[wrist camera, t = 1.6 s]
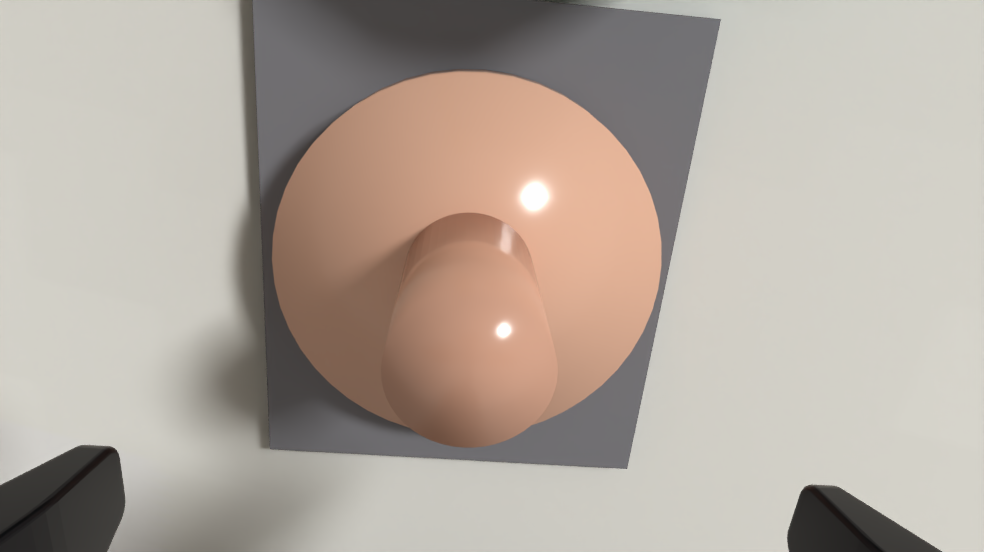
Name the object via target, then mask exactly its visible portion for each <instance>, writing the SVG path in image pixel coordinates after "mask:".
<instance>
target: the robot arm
mask: <svg viewBox="0 0 984 552" xmlns="http://www.w3.org/2000/svg"><path fill="white" fill-rule="evenodd" d="M124 508H125V492H124V485H123V478H122V471H121V464H120V457H119V454H118V452H117V450H116V449H115V448H113V447H111V446H95V445H81V446H78V447H75V448H73V449H71V450H69V451H67V452H65V453H63V454H61V455H59V456H57V457H55V458H53V459H51V460H49V461H47V462H45V463H43V464H41V465H40V466H38V467H36V468H34V469H32V470H30V471H28V472H26V473H24V474H22V475H20V476H18V477H16V478H14V479H12V480H10V481H8V482H6V483H4V484H2V485H0V552H107V551H108V549H109V546H110V544H111V542H112V540H113V537H114V535H115V533H116V530H117V528H118V526H119V524H120V521H121V519H122V516H123V513H124ZM787 542H788V549H789V552H942V551H940V550H939V549H937V548H935V547H934V546H932V545H931V544H929V543H927V542H926V541H924V540H923V539H921V538H919V537H918V536H916V535H915V534H913V533H911V532H910V531H908V530H907V529H905V528H903V527H902V526H900V525H899V524H897V523H895V522H894V521H892V520H891V519H889V518H887V517H886V516H884V515H883V514H881V513H880V512H878V511H876V510H875V509H873V508H872V507H870V506H868V505H867V504H865V503H864V502H862V501H860V500H859V499H857V498H856V497H854V496H852V495H851V494H849V493H848V492H846V491H844V490H843V489H841V488H839V487H836V486H829V485H808V486H806V487H804V489H803V490H802V491H801V494H800V496H799V499H798V502H797V505H796V508H795V511H794V514H793V517H792V520H791V523H790V526H789V530H788V536H787Z"/></svg>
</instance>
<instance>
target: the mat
mask: <svg viewBox="0 0 984 552" xmlns="http://www.w3.org/2000/svg"><path fill="white" fill-rule="evenodd" d="M252 1H253V27H254V52H255V78H256V104H257V129H258V155H259V180H260V206H261V232H262V257H263V283H264V308H265V334H266V360H267V385H268V411H269V436H270V449H278V450H296V451H315V452H333V453H351V454H369V455H387V456H405V457H423V458H441V459H459V460H477V461H495V462H513V463H531V464H549V465H567V466H585V467H603V468H621V469H627V466H628V462H629V457H630V452H631V447H632V442H633V438H634V433H635V428H636V423H637V418H638V414H639V409H640V404H641V399H642V394H643V390H644V385H645V380H646V375H647V370H648V366H649V361H650V356H651V351H652V347H653V342H654V337H655V332H656V327H657V323H658V318H659V313H660V308H661V303H662V299H663V294H664V289H665V284H666V279H667V275H668V270H669V265H670V260H671V255H672V251H673V246H674V241H675V236H676V232H677V227H678V222H679V217H680V212H681V208H682V203H683V198H684V193H685V188H686V184H687V179H688V174H689V169H690V164H691V160H692V155H693V150H694V145H695V140H696V136H697V131H698V126H699V121H700V117H701V112H702V107H703V102H704V97H705V93H706V88H707V83H708V78H709V73H710V69H711V64H712V59H713V54H714V49H715V45H716V40H717V35H718V30H719V25H720V21H721V19H712V18H702V17H692V16H683V15H673V14H663V13H653V12H643V11H634V10H624V9H614V8H604V7H595V6H585V5H575V4H565V3H555V2H546V1H536V0H252ZM452 69H486V70H492V71H498V72H504V73H510V74H514V75H517V76H520V77H524V78H527V79H530V80H533V81H537V82H539V83H541V84H543V85H545V86H547V87H550V88H552V89H554V90H556V91H558V92H560V93H562V94H563V95H565V96H566V97H568V98H570V99H571V100H573V101H574V102H576V103H577V104H579V105H580V106H582V107H583V108H584V109H585V110H587V111H588V112H589V113H590V114H591V115H592V116H593V117H595V118H596V119H597V120H598V121H599V122H600V123H601V124H603V125H604V126H605V127H606V128H607V129H608V130H609V131H610V132H611V133H612V134H613V135H614V136H615V138H616V139H617V140H618V141H619V142H620V143H621V145H622V146H623V147H624V148H625V149H626V150H627V152H628V153H629V155H630V156H631V158H632V160H633V161H634V163H635V164H636V166H637V167H638V169H639V170H640V172H641V174H642V176H643V178H644V181H645V183H646V185H647V187H648V189H649V191H650V194H651V197H652V200H653V203H654V207H655V210H656V213H657V217H658V222H659V229H660V236H661V272H660V280H659V287H658V291H657V295H656V299H655V302H654V306H653V310H652V312H651V315H650V317H649V319H648V322H647V324H646V326H645V329H644V331H643V333H642V335H641V336H640V338H639V340H638V341H637V343H636V345H635V347H634V348H633V350H632V352H631V353H630V354H629V355H628V357H627V358H626V359H625V361H624V362H623V363H622V364H621V366H620V367H619V368H618V370H617V371H616V372H615V373H614V374H613V375H612V376H611V377H610V378H609V379H608V380H607V381H606V382H605V383H604V384H603V385H602V386H600V387H599V388H598V389H597V390H595V391H594V392H593V393H592V394H590V395H589V396H588V397H586V398H585V399H584V400H582V401H581V402H579V403H577V404H576V405H574V406H573V407H571V408H569V409H568V410H566V411H564V412H562V413H560V414H558V415H556V416H554V417H552V418H549V419H547V420H545V421H543V422H540V423H537V424H534V425H531V426H530V427H528V428H527V429H526V430H525V431H523V432H521V433H520V434H518V435H517V436H515V437H513V438H510V439H508V440H506V441H503V442H500V443H497V444H494V445H489V446H484V447H475V448H462V447H453V446H448V445H444V444H440V443H437V442H434V441H431V440H429V439H427V438H425V437H423V436H421V435H419V434H418V433H416V432H415V431H413V430H412V429H411V428H409V427H406V426H403V425H400V424H397V423H394V422H391V421H388V420H386V419H384V418H382V417H380V416H378V415H376V414H374V413H372V412H370V411H368V410H366V409H364V408H363V407H361V406H360V405H358V404H356V403H355V402H353V401H352V400H350V399H348V398H347V397H346V396H345V395H343V394H342V393H341V392H340V391H338V390H337V389H336V388H335V387H334V386H332V385H331V384H330V383H329V382H328V381H327V380H326V379H325V378H324V377H323V376H322V375H321V374H320V373H319V372H318V371H317V370H316V369H315V368H314V366H313V365H312V364H311V362H310V361H309V360H308V358H307V357H306V356H305V354H304V353H303V352H302V350H301V349H300V347H299V345H298V344H297V342H296V340H295V338H294V337H293V335H292V333H291V331H290V330H289V327H288V325H287V322H286V320H285V317H284V315H283V312H282V310H281V307H280V304H279V300H278V296H277V292H276V288H275V284H274V274H273V265H272V247H273V233H274V227H275V222H276V217H277V211H278V208H279V205H280V203H281V200H282V197H283V194H284V191H285V188H286V186H287V184H288V182H289V180H290V178H291V176H292V174H293V172H294V170H295V168H296V166H297V165H298V163H299V162H300V160H301V159H302V158H303V156H304V155H305V153H306V152H307V151H308V149H309V148H310V146H311V145H312V144H313V143H314V141H315V140H316V139H317V138H318V137H319V136H320V135H321V134H322V133H323V132H324V131H325V130H326V129H327V128H328V127H329V126H330V125H331V124H332V123H333V122H334V121H335V120H336V119H337V118H339V117H340V116H341V115H342V114H344V113H345V112H346V111H347V110H349V109H350V108H351V107H352V106H354V105H355V104H356V103H358V102H359V101H360V100H362V99H364V98H366V97H367V96H369V95H371V94H373V93H374V92H376V91H378V90H379V89H381V88H383V87H386V86H388V85H391V84H393V83H396V82H398V81H401V80H403V79H406V78H409V77H413V76H417V75H421V74H425V73H429V72H434V71H443V70H452Z"/></svg>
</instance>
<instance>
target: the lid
mask: <svg viewBox="0 0 984 552" xmlns="http://www.w3.org/2000/svg"><path fill="white" fill-rule="evenodd" d="M272 265H273V274H274V284H275V288H276V292H277V296H278V300H279V304H280V307H281V310H282V312H283V315H284V317H285V320H286V322H287V325H288V327H289V330H290V331H291V333H292V335H293V337H294V338H295V340H296V342H297V344H298V345H299V347H300V349H301V350H302V352H303V353H304V354H305V356H306V357H307V358H308V360H309V361H310V362H311V364H312V365H313V366H314V368H315V369H316V370H317V371H318V372H319V373H320V374H321V375H322V376H323V377H324V378H325V379H326V380H327V381H328V382H329V383H330V384H331V385H332V386H334V387H335V388H336V389H337V390H338V391H340V392H341V393H342V394H343V395H345V396H346V397H347V398H348V399H350V400H352V401H353V402H355V403H356V404H358V405H360V406H361V407H363V408H364V409H366V410H368V411H370V412H372V413H374V414H376V415H378V416H380V417H382V418H384V419H386V420H388V421H391V422H394V423H397V424H400V425H403V426H406V427H409V428H411V429H412V430H413V431H415V432H416V433H418V434H419V435H421V436H423V437H425V438H427V439H429V440H431V441H434V442H437V443H440V444H444V445H448V446H453V447H462V448H475V447H484V446H489V445H494V444H497V443H500V442H503V441H506V440H508V439H510V438H513V437H515V436H517V435H518V434H520V433H521V432H523V431H525V430H526V429H527V428H528V427H530V426H531V425H534V424H537V423H540V422H543V421H545V420H547V419H549V418H552V417H554V416H556V415H558V414H560V413H562V412H564V411H566V410H568V409H569V408H571V407H573V406H574V405H576V404H577V403H579V402H581V401H582V400H584V399H585V398H586V397H588V396H589V395H590V394H592V393H593V392H594V391H595V390H597V389H598V388H599V387H600V386H602V385H603V384H604V383H605V382H606V381H607V380H608V379H609V378H610V377H611V376H612V375H613V374H614V373H615V372H616V371H617V370H618V368H619V367H620V366H621V364H622V363H623V362H624V361H625V359H626V358H627V357H628V355H629V354H630V353H631V352H632V350H633V348H634V347H635V345H636V343H637V341H638V340H639V338H640V336H641V335H642V333H643V331H644V329H645V326H646V324H647V322H648V319H649V317H650V315H651V312H652V310H653V306H654V302H655V299H656V295H657V291H658V287H659V280H660V272H661V236H660V229H659V222H658V217H657V213H656V210H655V207H654V203H653V200H652V197H651V194H650V191H649V189H648V187H647V185H646V183H645V181H644V178H643V176H642V174H641V172H640V170H639V169H638V167H637V166H636V164H635V163H634V161H633V160H632V158H631V156H630V155H629V153H628V152H627V150H626V149H625V148H624V147H623V146H622V145H621V143H620V142H619V141H618V140H617V139H616V138H615V136H614V135H613V134H612V133H611V132H610V131H609V130H608V129H607V128H606V127H605V126H604V125H603V124H601V123H600V122H599V121H598V120H597V119H596V118H595V117H593V116H592V115H591V114H590V113H589V112H588V111H587V110H585V109H584V108H583V107H582V106H580V105H579V104H577V103H576V102H574V101H573V100H571V99H570V98H568V97H566V96H565V95H563V94H562V93H560V92H558V91H556V90H554V89H552V88H550V87H547V86H545V85H543V84H541V83H539V82H537V81H533V80H530V79H527V78H524V77H520V76H517V75H514V74H510V73H504V72H498V71H492V70H486V69H452V70H443V71H434V72H429V73H425V74H421V75H417V76H413V77H409V78H406V79H403V80H401V81H398V82H396V83H393V84H391V85H388V86H386V87H383V88H381V89H379V90H378V91H376V92H374V93H373V94H371V95H369V96H367V97H366V98H364V99H362V100H360V101H359V102H358V103H356V104H355V105H354V106H352V107H351V108H350V109H349V110H347V111H346V112H345V113H344V114H342V115H341V116H340V117H339V118H337V119H336V120H335V121H334V122H333V123H332V124H331V125H330V126H329V127H328V128H327V129H326V130H325V131H324V132H323V133H322V134H321V135H320V136H319V137H318V138H317V139H316V140H315V141H314V143H313V144H312V145H311V146H310V148H309V149H308V151H307V152H306V153H305V155H304V156H303V158H302V159H301V160H300V162H299V163H298V165H297V166H296V168H295V170H294V172H293V174H292V176H291V178H290V180H289V182H288V184H287V186H286V188H285V191H284V194H283V197H282V200H281V203H280V205H279V208H278V211H277V217H276V222H275V227H274V233H273V247H272Z"/></svg>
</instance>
